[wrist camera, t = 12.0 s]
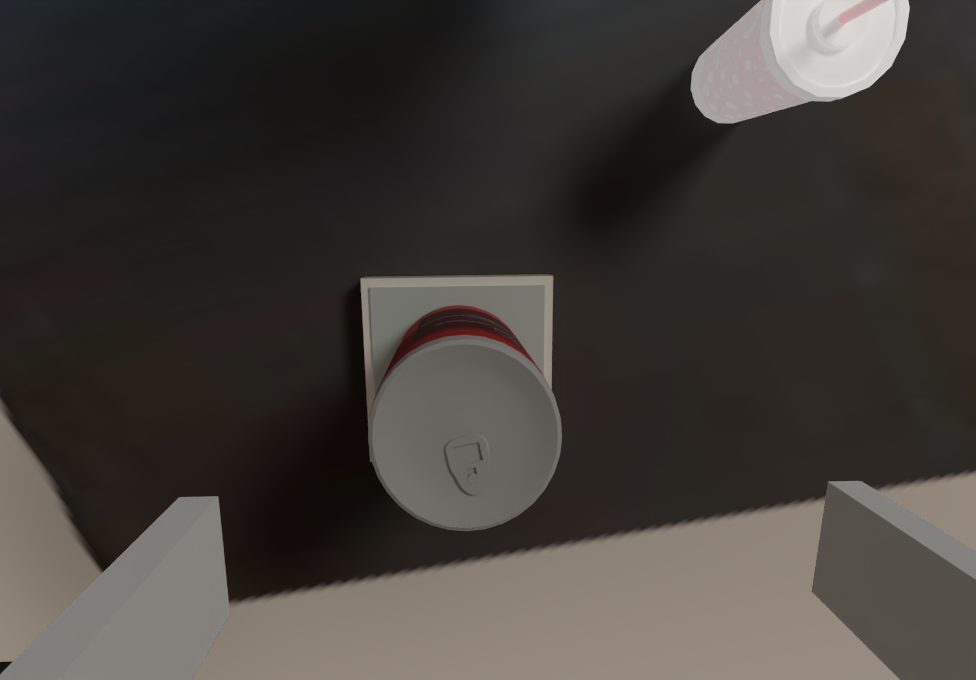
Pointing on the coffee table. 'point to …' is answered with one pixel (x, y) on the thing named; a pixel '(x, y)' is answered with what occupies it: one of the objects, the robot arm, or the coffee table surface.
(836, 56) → the beverage cup
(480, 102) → the coffee table surface
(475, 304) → the tray
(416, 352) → the canned food
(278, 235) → the coffee table surface
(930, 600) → the robot arm
